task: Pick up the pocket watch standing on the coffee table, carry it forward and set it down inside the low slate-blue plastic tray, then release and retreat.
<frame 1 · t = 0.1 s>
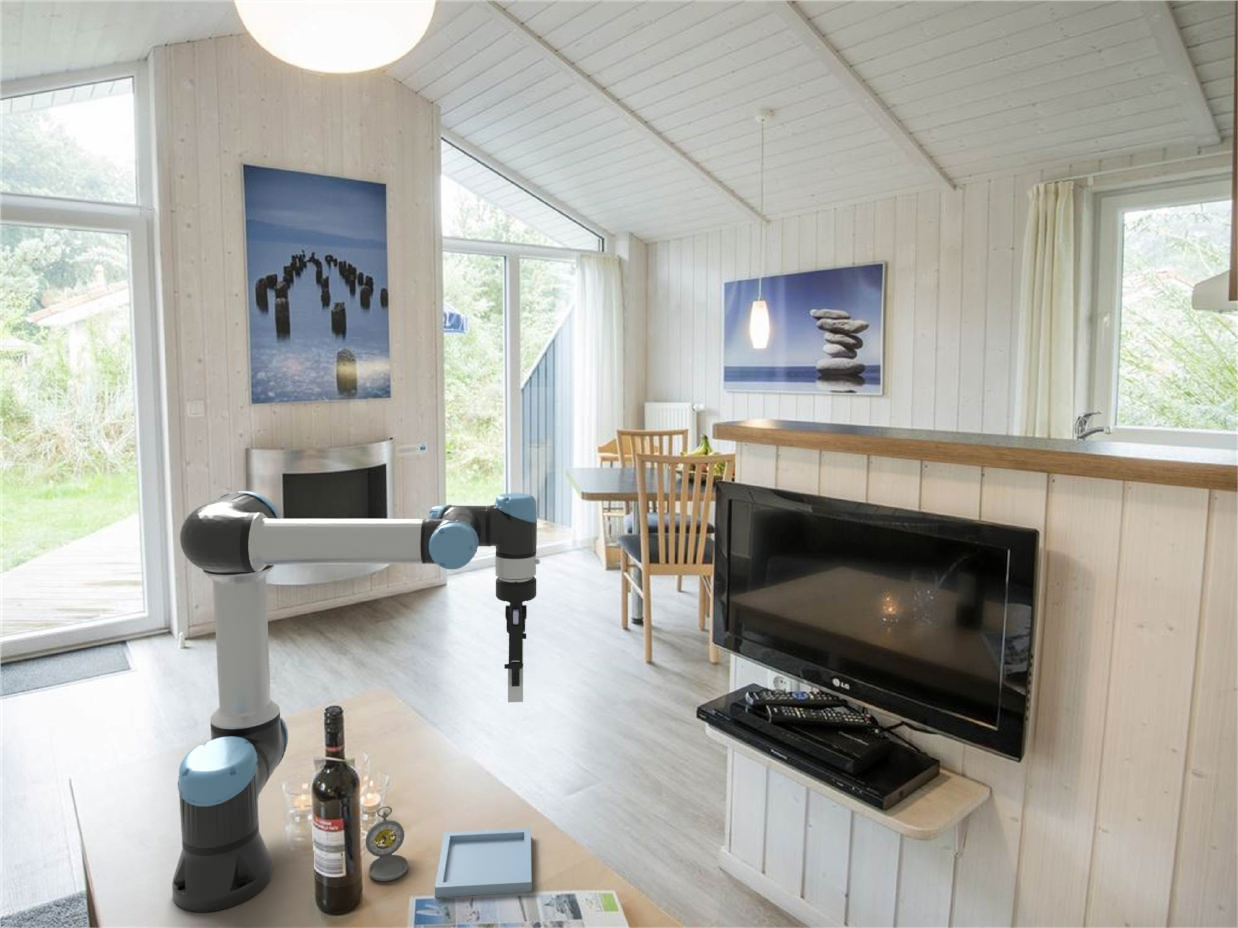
hand: (515, 686, 152), 28 cm above the table, fingers open, 13 cm apart
pocket watch: (388, 868, 142), on the table
tray: (485, 865, 143), on the table
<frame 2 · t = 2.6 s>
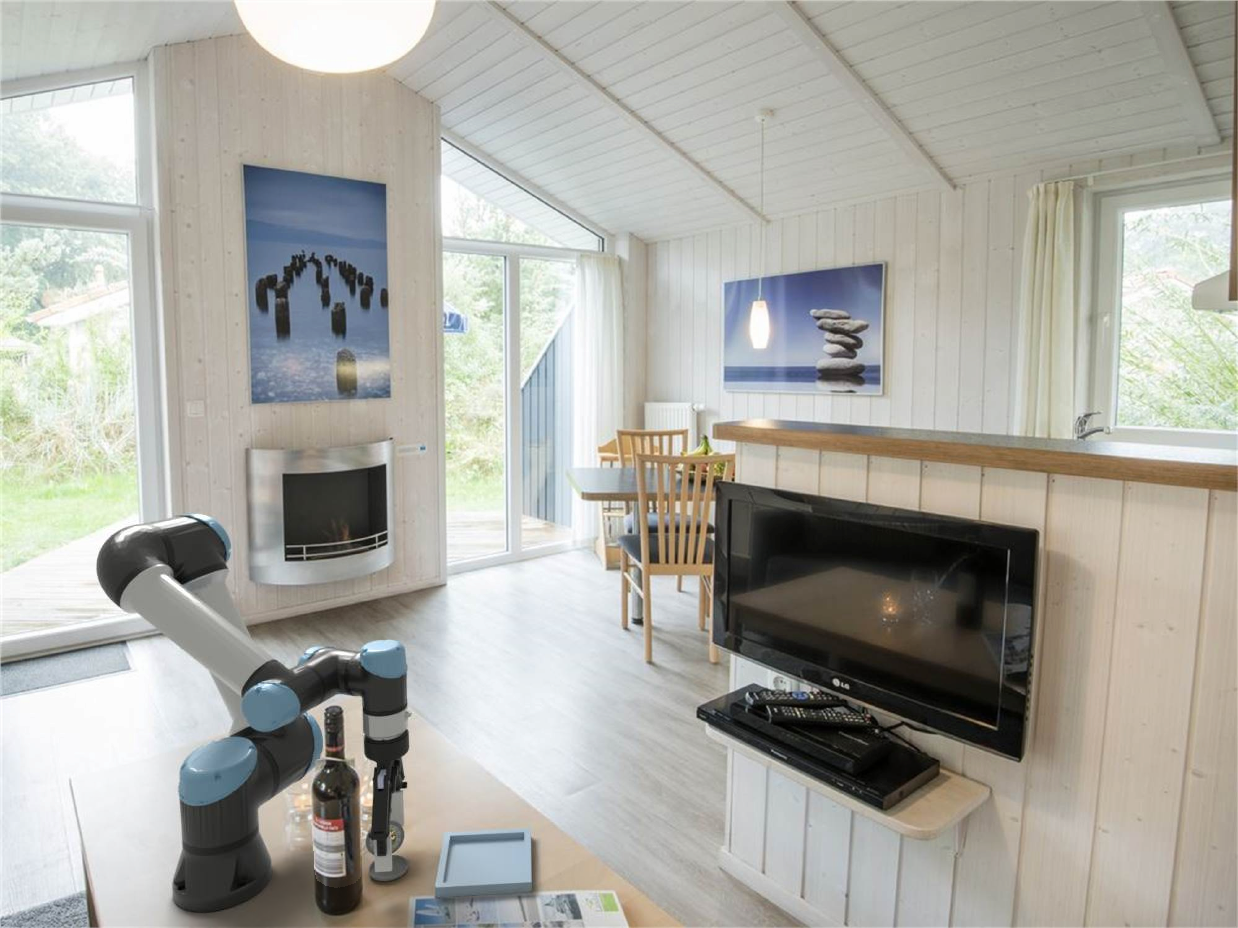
hand: (390, 846, 142), 4 cm above the table, fingers open, 13 cm apart
nothing on the table moved.
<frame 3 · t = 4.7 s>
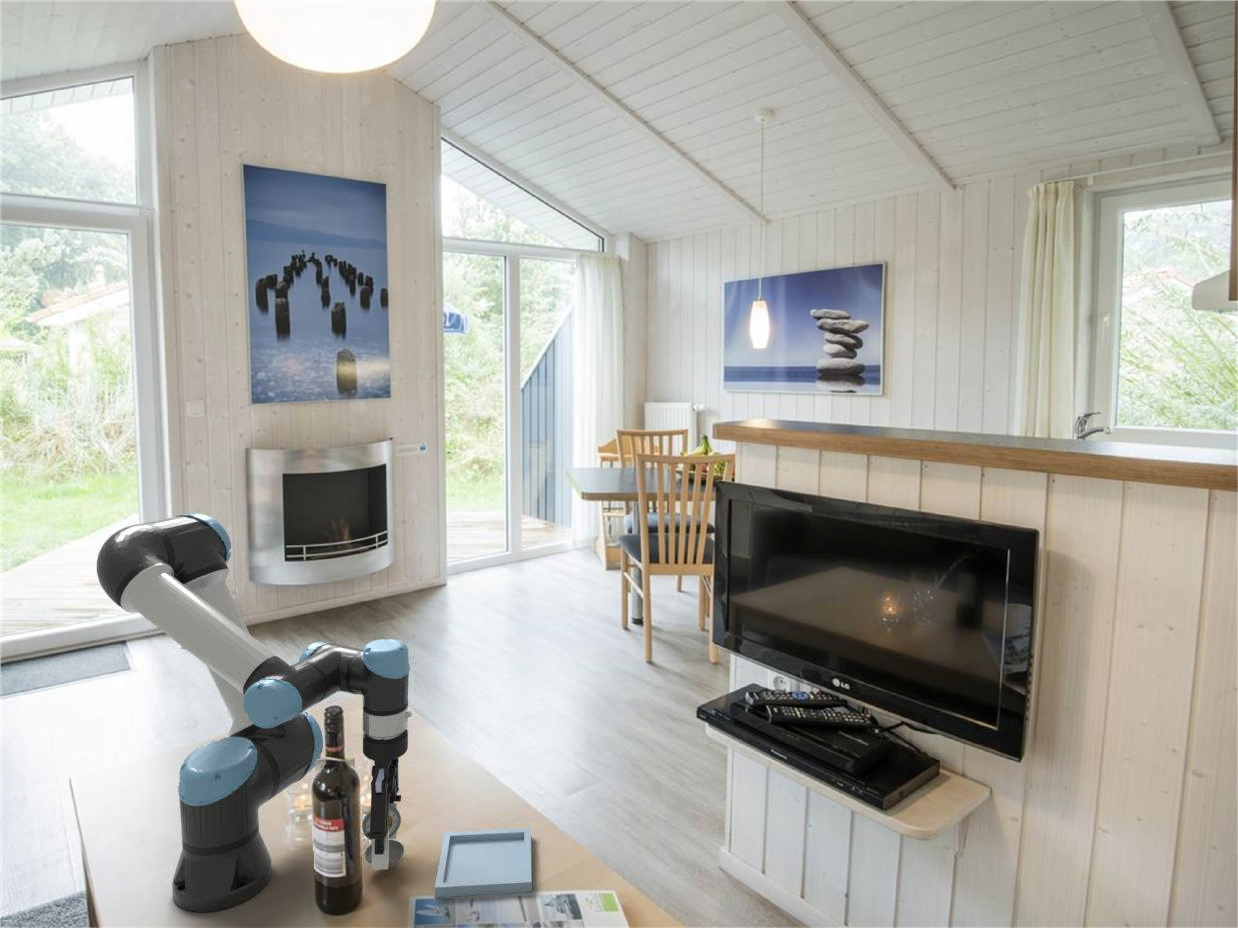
hand: (384, 852, 142), 3 cm above the table, fingers closed on pocket watch, 8 cm apart
pocket watch: (384, 852, 143), point 2 cm above the table, touching gripper
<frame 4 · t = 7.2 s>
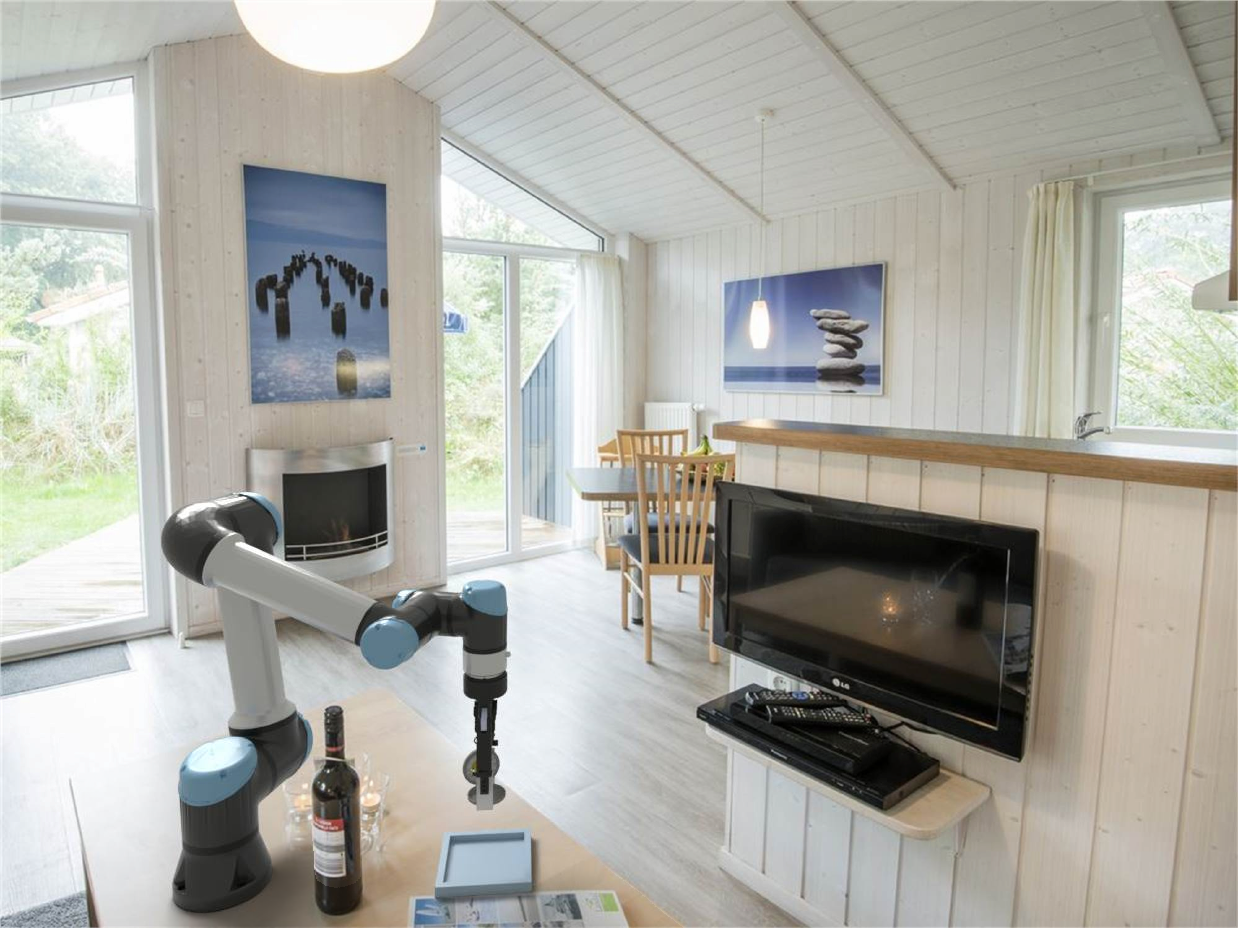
hand: (486, 795, 142), 13 cm above the table, fingers closed on pocket watch, 8 cm apart
pocket watch: (485, 795, 142), point 13 cm above the table, touching gripper
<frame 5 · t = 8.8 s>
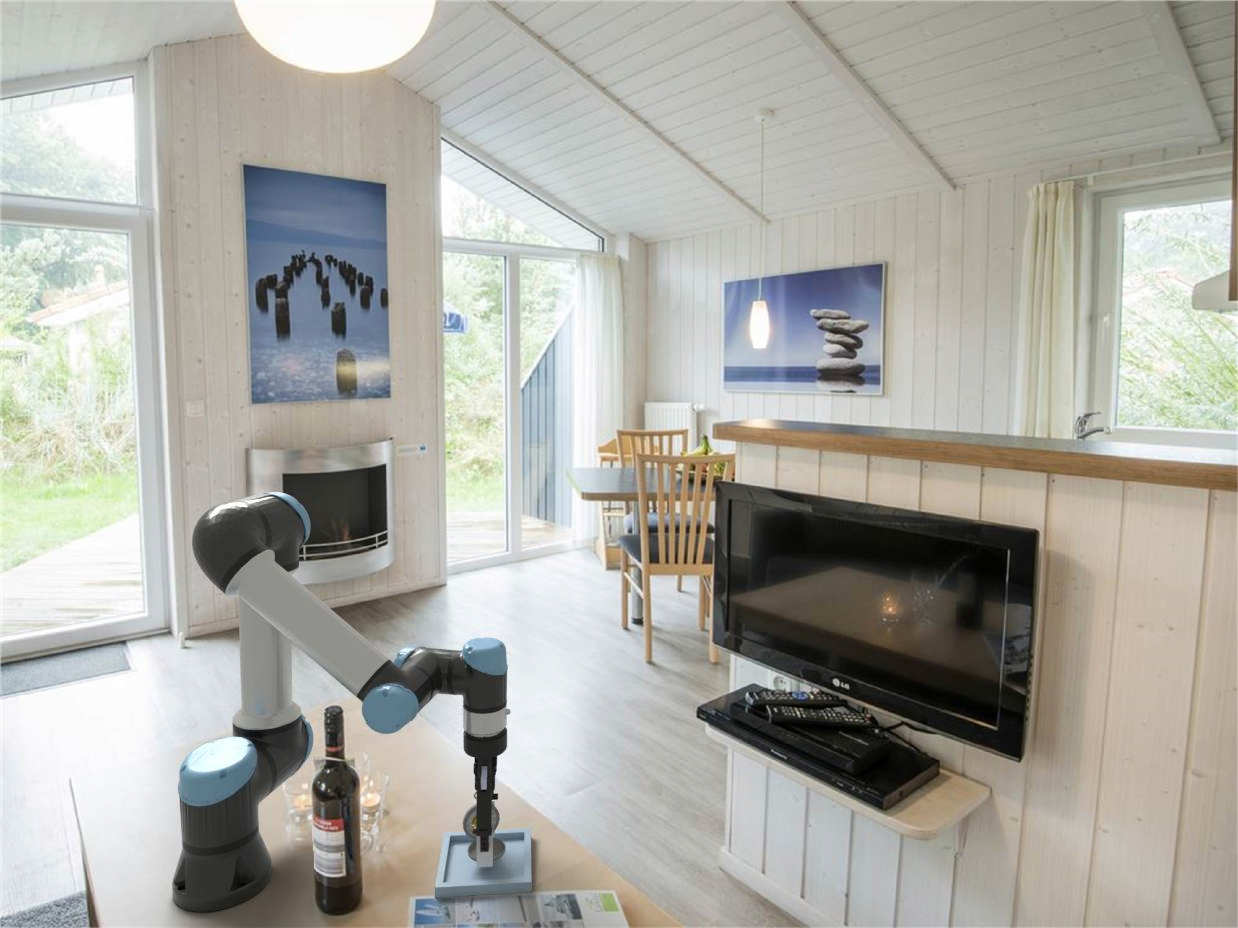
hand: (486, 850, 143), 3 cm above the table, fingers closed on pocket watch, 8 cm apart
pocket watch: (485, 850, 143), point 2 cm above the table, touching gripper
when the fingers open (2 cm above the table, at t = 9.9 s): pocket watch drops 1 cm, resting on tray.
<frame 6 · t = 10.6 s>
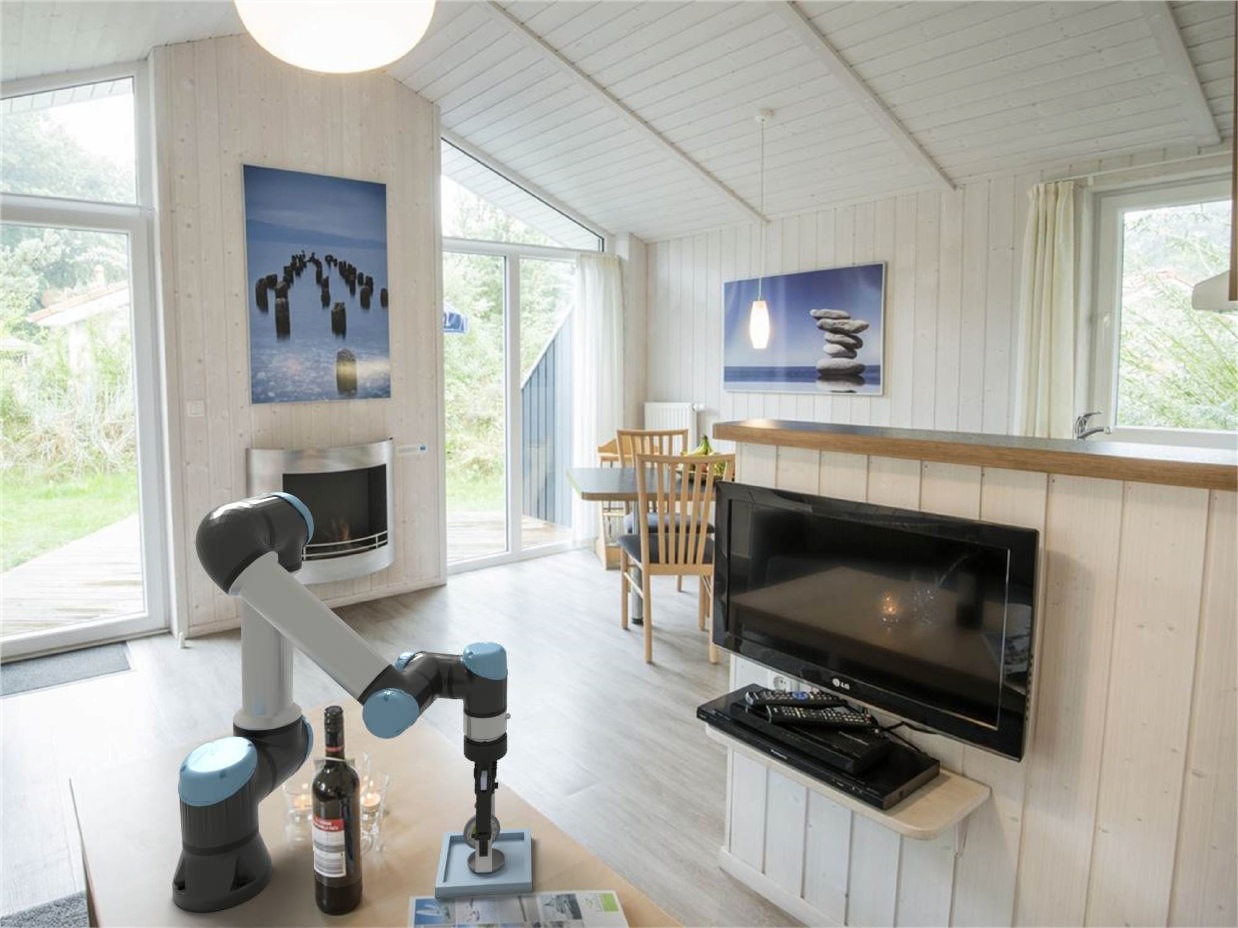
hand: (485, 846, 143), 4 cm above the table, fingers open, 13 cm apart
pocket watch: (485, 860, 144), resting on tray
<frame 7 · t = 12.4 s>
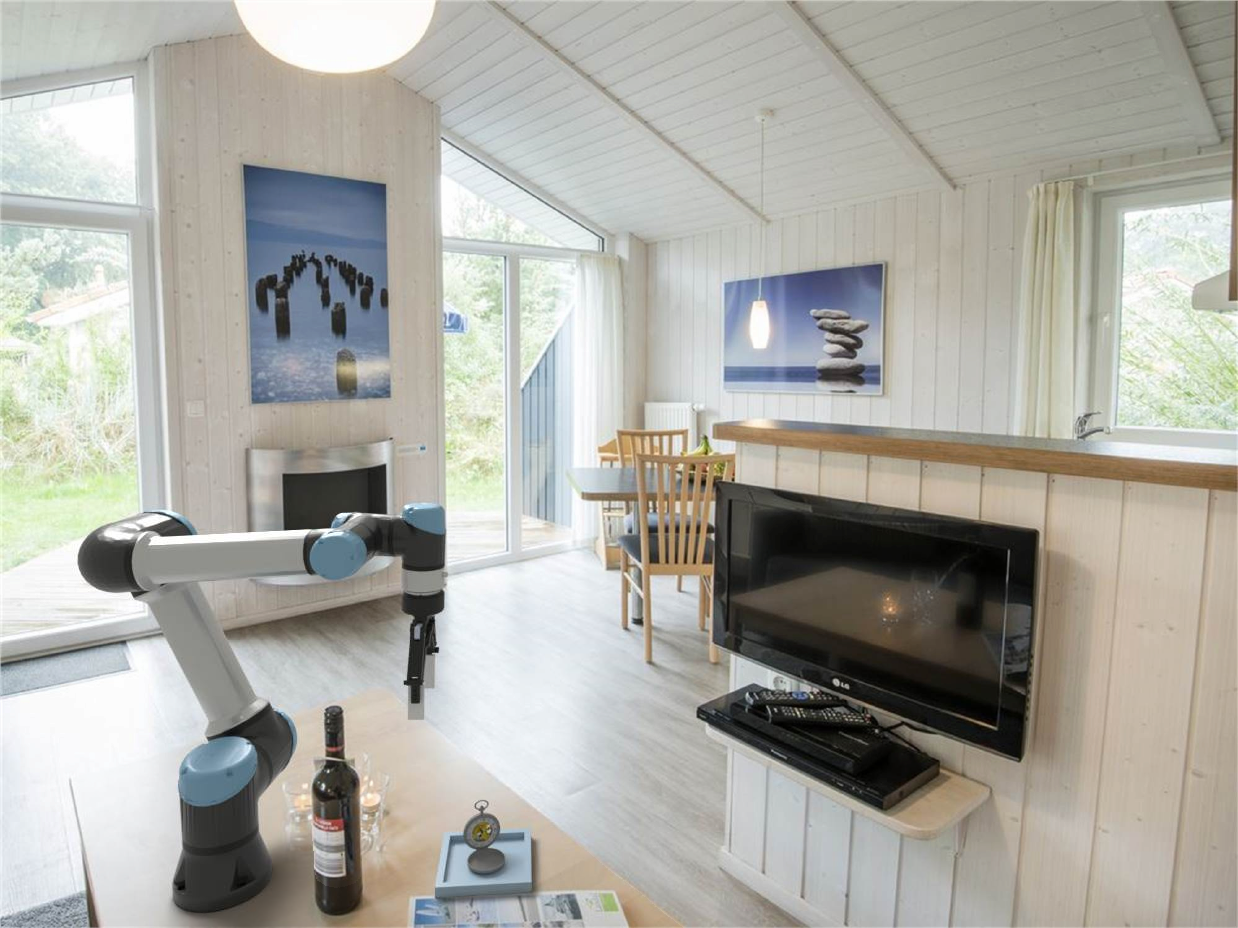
hand: (421, 702, 147), 27 cm above the table, fingers open, 13 cm apart
nothing on the table moved.
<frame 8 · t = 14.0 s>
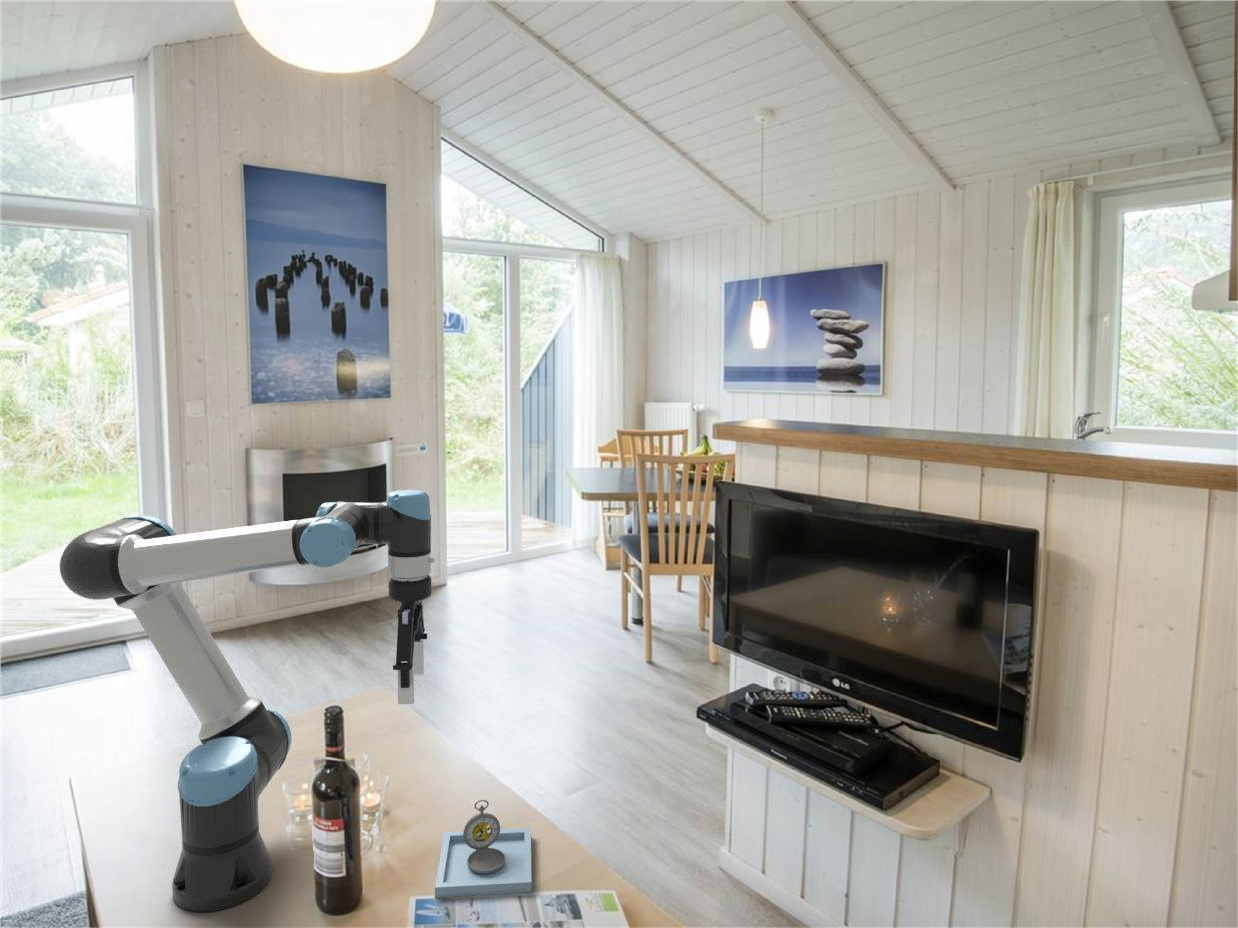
hand: (411, 688, 149), 29 cm above the table, fingers open, 13 cm apart
nothing on the table moved.
at the end: pocket watch inside the target area on the tray (0.6 cm from its centre), point 0.4 cm above the tray's base; the gripper is holding nothing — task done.
